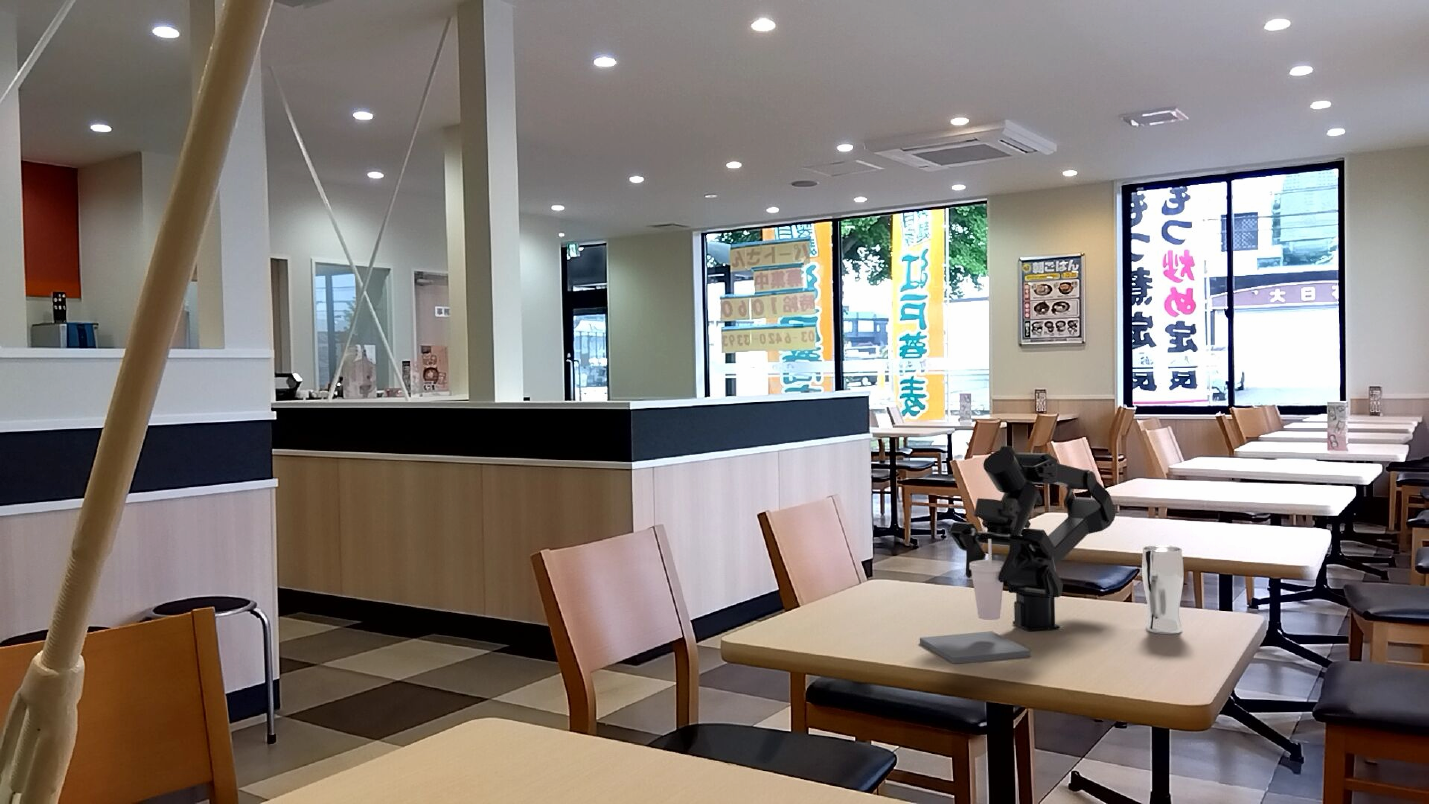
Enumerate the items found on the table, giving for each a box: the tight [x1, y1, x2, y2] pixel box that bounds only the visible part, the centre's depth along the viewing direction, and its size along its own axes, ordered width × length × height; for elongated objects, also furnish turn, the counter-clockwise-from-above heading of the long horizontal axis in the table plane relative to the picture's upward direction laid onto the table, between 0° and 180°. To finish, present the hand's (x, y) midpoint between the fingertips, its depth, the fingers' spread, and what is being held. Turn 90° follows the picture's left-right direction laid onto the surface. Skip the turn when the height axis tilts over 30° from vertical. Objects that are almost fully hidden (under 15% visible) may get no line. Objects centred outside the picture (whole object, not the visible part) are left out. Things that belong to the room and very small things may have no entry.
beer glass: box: [1141, 545, 1185, 635], centre depth 191 cm, size 7×7×15 cm
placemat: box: [919, 630, 1031, 665], centre depth 183 cm, size 14×14×1 cm
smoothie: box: [969, 539, 1005, 621], centre depth 186 cm, size 6×6×14 cm
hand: (983, 578), depth 185 cm, fingers closed on smoothie, 6 cm apart
